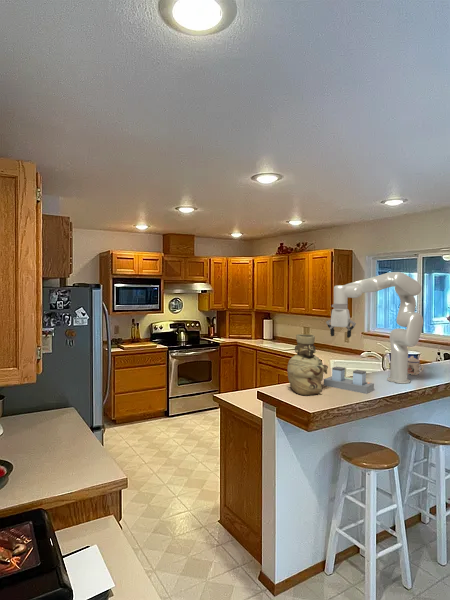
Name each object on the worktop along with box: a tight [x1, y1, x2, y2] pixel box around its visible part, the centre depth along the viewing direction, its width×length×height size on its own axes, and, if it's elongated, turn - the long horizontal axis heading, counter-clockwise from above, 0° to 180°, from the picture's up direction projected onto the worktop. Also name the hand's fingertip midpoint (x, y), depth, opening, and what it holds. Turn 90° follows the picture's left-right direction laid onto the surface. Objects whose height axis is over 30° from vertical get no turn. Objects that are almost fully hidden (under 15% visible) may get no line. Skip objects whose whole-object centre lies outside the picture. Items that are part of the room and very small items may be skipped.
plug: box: [331, 366, 346, 381], centre depth 219 cm, size 5×5×10 cm
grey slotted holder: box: [323, 375, 375, 395], centre depth 215 cm, size 10×24×5 cm, turn 49°
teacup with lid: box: [407, 355, 424, 376], centre depth 257 cm, size 12×9×12 cm
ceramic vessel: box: [286, 333, 329, 396], centre depth 211 cm, size 19×21×30 cm
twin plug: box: [352, 369, 367, 385], centre depth 211 cm, size 5×5×10 cm
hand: (340, 336), depth 227 cm, fingers open, 9 cm apart
